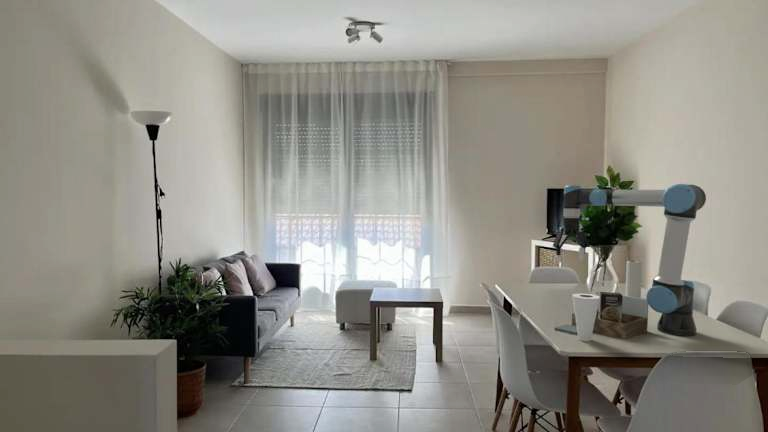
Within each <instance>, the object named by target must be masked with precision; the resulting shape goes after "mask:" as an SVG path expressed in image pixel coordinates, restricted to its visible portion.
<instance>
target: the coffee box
mask: <svg viewBox="0 0 768 432" xmlns="http://www.w3.org/2000/svg"><path fill="white" fill-rule="evenodd" d="M623 296H624V295H623V294H622V293H619V292H609V291H608V292H606V291H599V297H600V300H599V305H598V319H602V320H607V321H612V322H617V323H621V319H622V299H623Z"/></svg>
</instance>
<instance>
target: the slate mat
mask: <svg viewBox="0 0 768 432" xmlns="http://www.w3.org/2000/svg"><path fill="white" fill-rule="evenodd" d="M554 331H557V332H558V331H559V332H563V333H567V334H570V335H576V336H577V335H578V333H577V326H573V325H572V324H570V323H567V324H563V325H559V326H556V327H554Z"/></svg>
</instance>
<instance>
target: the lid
mask: <svg viewBox="0 0 768 432" xmlns="http://www.w3.org/2000/svg"><path fill="white" fill-rule="evenodd" d="M599 292H600V291H598V290H596V291H595V295H597V296H599ZM622 313H624V314H629V315H634V316H639V317H644V318H648V319H649V304H648V302H647V298H642V297H641V298H635V297H629V296H625V295H623V299H622Z"/></svg>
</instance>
